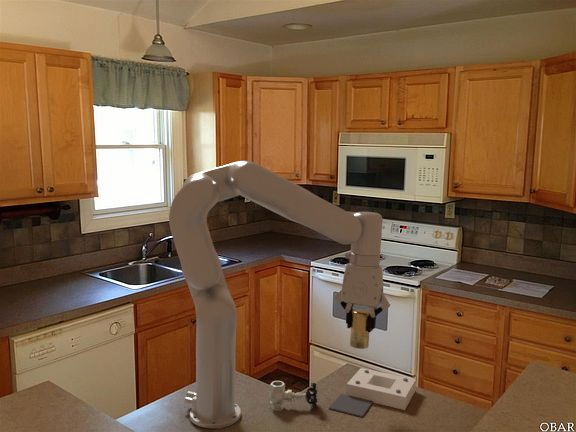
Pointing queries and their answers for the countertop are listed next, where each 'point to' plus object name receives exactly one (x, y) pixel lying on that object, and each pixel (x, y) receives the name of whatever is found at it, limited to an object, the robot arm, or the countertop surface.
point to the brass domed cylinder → (359, 329)
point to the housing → (382, 388)
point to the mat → (351, 405)
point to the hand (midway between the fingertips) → (360, 328)
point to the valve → (289, 395)
